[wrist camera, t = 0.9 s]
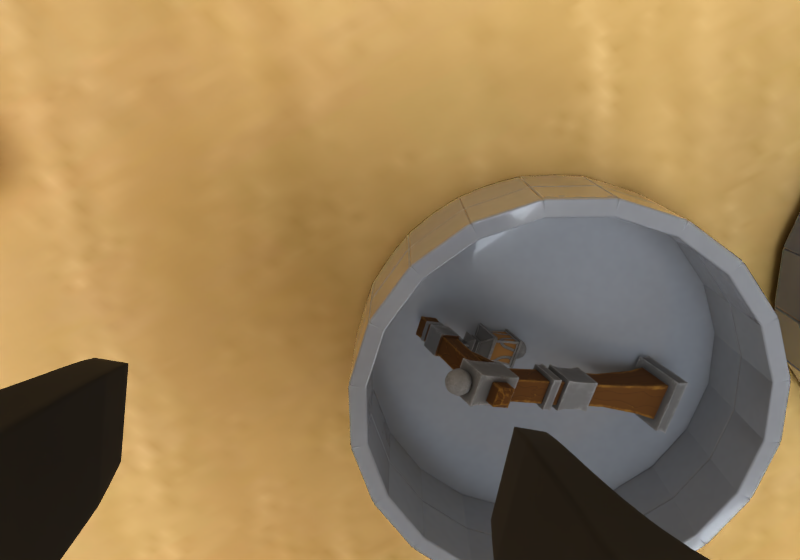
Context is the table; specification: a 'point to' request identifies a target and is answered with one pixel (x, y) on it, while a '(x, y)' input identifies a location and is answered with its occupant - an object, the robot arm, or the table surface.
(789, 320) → the bowl
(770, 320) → the grey cake pan
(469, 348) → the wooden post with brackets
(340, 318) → the table surface
